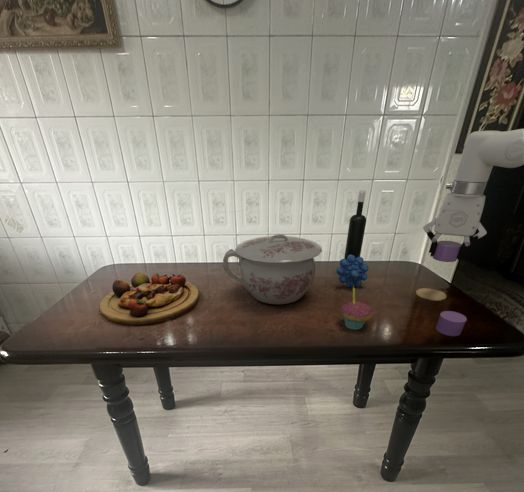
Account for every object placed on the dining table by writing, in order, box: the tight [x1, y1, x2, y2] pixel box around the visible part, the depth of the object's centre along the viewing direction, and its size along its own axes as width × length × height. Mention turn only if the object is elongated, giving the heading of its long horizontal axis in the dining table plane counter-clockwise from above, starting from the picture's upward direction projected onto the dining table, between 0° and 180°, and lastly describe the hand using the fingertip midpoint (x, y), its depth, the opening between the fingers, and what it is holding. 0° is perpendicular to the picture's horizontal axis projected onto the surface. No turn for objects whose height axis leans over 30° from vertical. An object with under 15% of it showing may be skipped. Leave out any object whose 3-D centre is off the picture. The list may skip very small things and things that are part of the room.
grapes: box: [335, 255, 369, 289], centre depth 105 cm, size 12×7×12 cm, turn 93°
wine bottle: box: [343, 189, 367, 260], centre depth 111 cm, size 6×6×30 cm
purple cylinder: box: [432, 240, 463, 263], centre depth 88 cm, size 6×6×4 cm
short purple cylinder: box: [435, 310, 468, 337], centre depth 83 cm, size 6×6×4 cm
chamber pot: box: [222, 233, 323, 305], centre depth 98 cm, size 28×28×21 cm
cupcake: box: [340, 285, 373, 331], centre depth 84 cm, size 9×8×12 cm
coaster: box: [415, 287, 448, 302], centre depth 103 cm, size 10×10×1 cm
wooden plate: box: [98, 271, 201, 325], centre depth 99 cm, size 32×32×8 cm
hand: (445, 256), depth 89 cm, fingers closed on purple cylinder, 6 cm apart
